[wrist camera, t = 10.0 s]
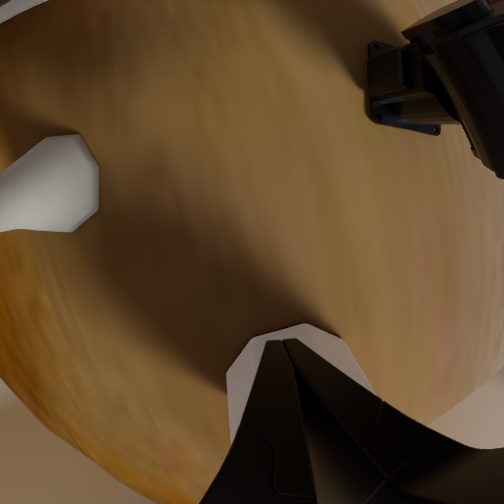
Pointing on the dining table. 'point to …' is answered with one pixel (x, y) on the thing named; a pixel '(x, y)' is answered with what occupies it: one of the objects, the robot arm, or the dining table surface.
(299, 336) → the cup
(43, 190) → the flask
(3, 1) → the domino
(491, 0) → the decorative ball
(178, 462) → the dining table surface
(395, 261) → the dining table surface
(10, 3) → the runner
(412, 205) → the dining table surface
